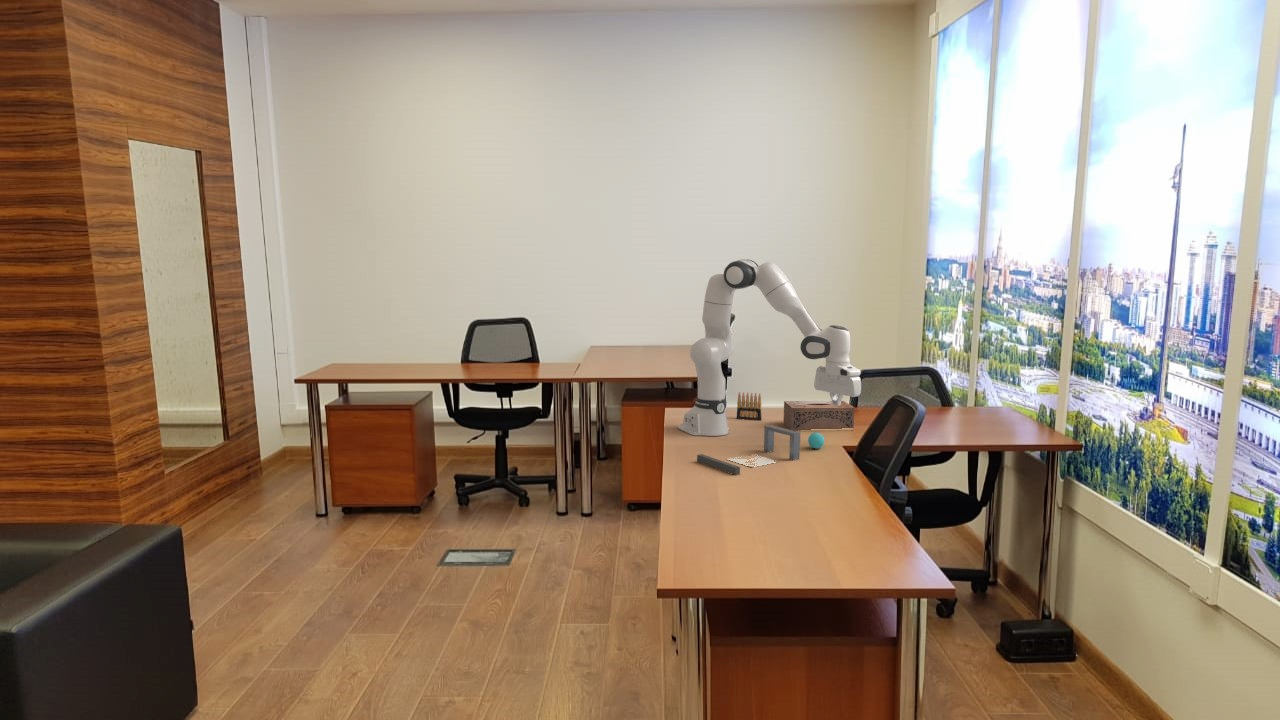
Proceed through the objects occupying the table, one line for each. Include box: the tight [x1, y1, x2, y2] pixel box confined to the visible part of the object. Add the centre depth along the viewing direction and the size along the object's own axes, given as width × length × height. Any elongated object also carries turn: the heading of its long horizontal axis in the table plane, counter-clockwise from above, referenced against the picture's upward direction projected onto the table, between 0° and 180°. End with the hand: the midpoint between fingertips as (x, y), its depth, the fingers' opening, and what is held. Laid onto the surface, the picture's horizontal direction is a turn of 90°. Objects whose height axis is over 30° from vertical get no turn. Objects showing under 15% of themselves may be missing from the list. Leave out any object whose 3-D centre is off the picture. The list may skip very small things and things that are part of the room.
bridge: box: [763, 424, 801, 461], centre depth 295 cm, size 3×15×10 cm, turn 35°
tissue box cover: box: [782, 400, 855, 432], centre depth 341 cm, size 26×14×10 cm, turn 93°
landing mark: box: [726, 454, 777, 468], centre depth 287 cm, size 13×13×1 cm
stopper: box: [696, 453, 741, 476], centre depth 278 cm, size 20×2×2 cm, turn 35°
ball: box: [807, 432, 825, 450], centre depth 305 cm, size 6×6×6 cm
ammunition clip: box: [735, 391, 762, 422], centre depth 355 cm, size 11×2×12 cm, turn 75°
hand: (836, 404), depth 309 cm, fingers closed
